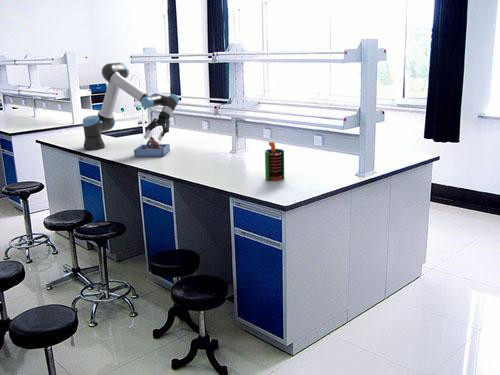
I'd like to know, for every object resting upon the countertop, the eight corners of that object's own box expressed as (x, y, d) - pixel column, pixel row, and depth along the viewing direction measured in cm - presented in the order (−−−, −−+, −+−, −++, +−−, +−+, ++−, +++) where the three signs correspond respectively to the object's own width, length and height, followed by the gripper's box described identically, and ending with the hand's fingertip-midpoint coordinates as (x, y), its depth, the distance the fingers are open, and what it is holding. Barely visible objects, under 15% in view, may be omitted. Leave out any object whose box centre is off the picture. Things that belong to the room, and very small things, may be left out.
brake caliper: (139, 150, 346) (145, 134, 349) (149, 157, 355) (155, 141, 358) (152, 151, 340) (158, 135, 343) (161, 158, 349) (167, 143, 352)
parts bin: (134, 157, 342) (133, 149, 340) (142, 151, 359) (141, 144, 357) (163, 156, 340) (163, 149, 338) (170, 151, 357) (169, 144, 356)
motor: (272, 182, 268) (271, 145, 263) (261, 179, 275) (260, 142, 270) (286, 178, 274) (286, 142, 268) (276, 175, 281) (275, 140, 275)
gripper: (181, 118, 350) (168, 143, 342) (155, 116, 364) (142, 140, 356) (175, 111, 344) (161, 137, 337) (149, 109, 358) (135, 134, 351)
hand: (151, 139), depth 346 cm, fingers open, 13 cm apart
